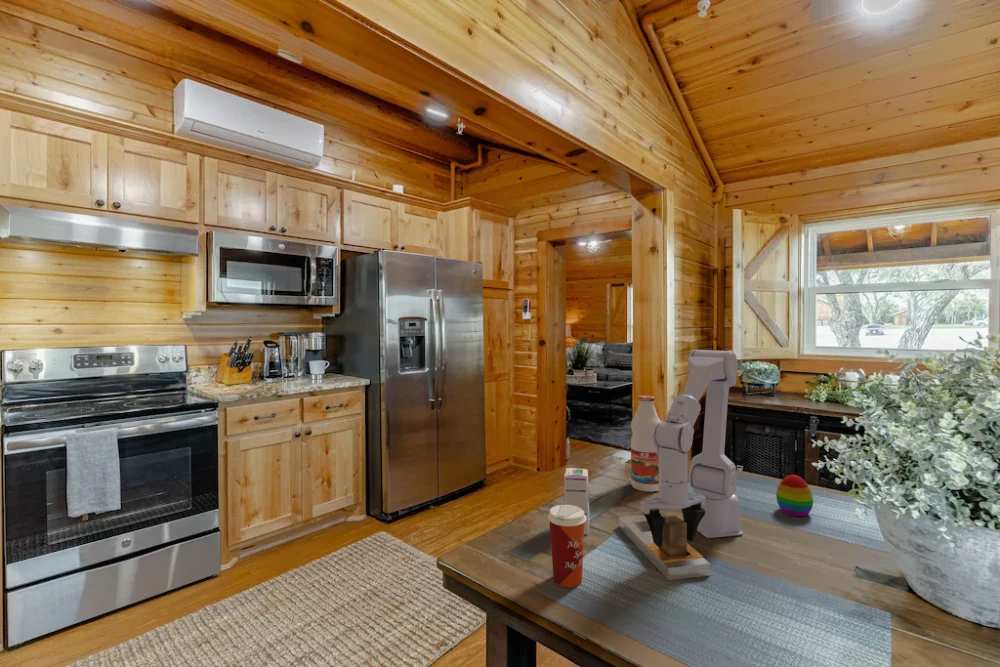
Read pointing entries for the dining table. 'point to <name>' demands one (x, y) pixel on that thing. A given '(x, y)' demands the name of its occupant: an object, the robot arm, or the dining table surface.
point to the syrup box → (577, 491)
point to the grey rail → (667, 565)
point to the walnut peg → (674, 537)
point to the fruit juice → (644, 446)
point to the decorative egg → (794, 496)
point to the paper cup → (567, 544)
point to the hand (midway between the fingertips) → (673, 542)
